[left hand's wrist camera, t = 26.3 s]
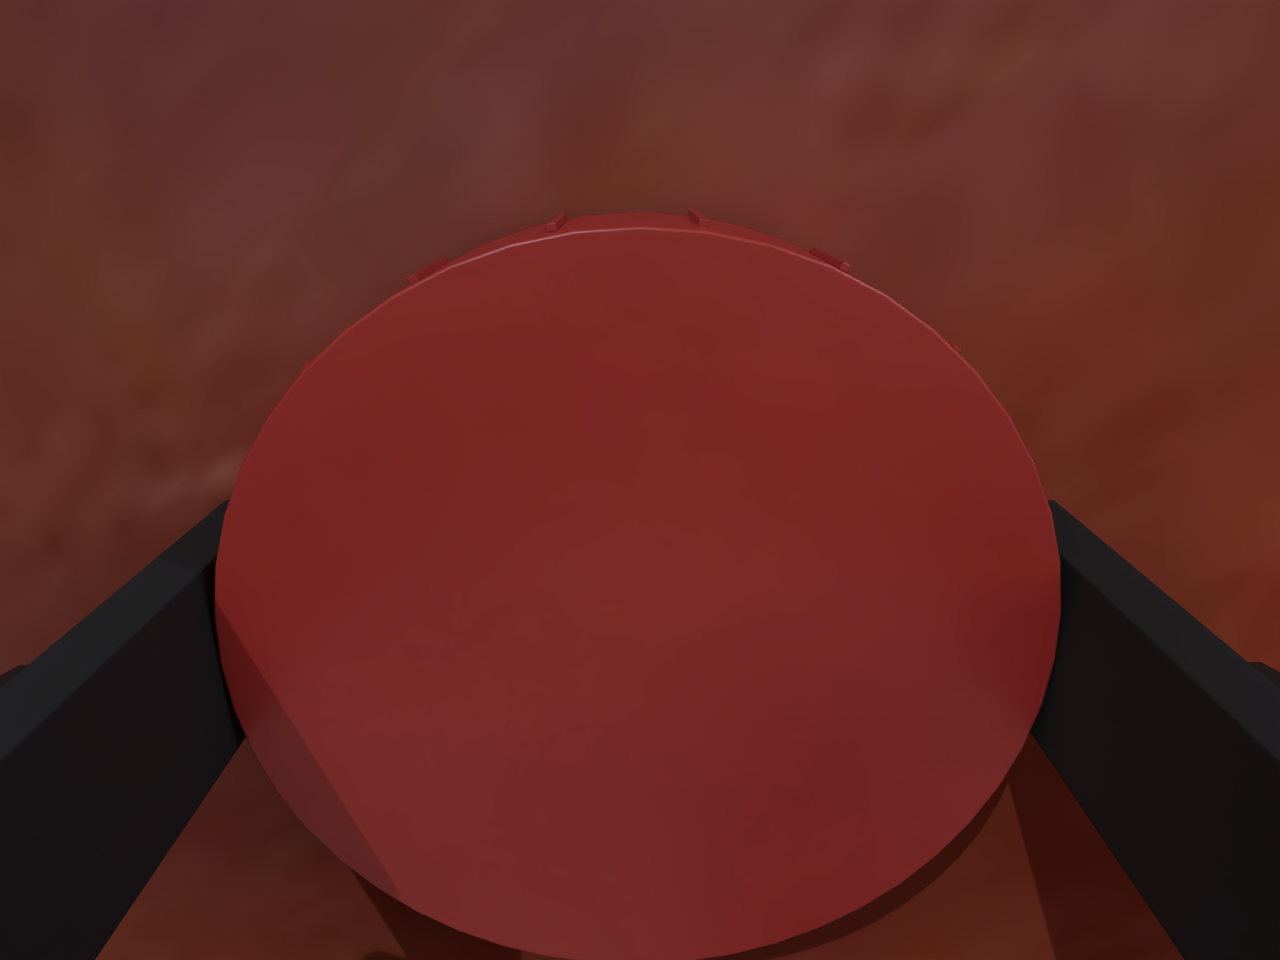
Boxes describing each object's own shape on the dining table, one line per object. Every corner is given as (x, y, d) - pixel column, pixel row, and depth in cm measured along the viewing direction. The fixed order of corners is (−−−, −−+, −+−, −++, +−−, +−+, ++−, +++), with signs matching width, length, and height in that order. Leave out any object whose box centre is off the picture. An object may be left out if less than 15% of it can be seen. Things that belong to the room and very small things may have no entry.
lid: (1110, 628, 14) (1206, 722, 11) (584, 935, 16) (577, 1065, 14) (719, 24, 11) (744, -12, 8) (133, 517, 13) (26, 595, 11)
